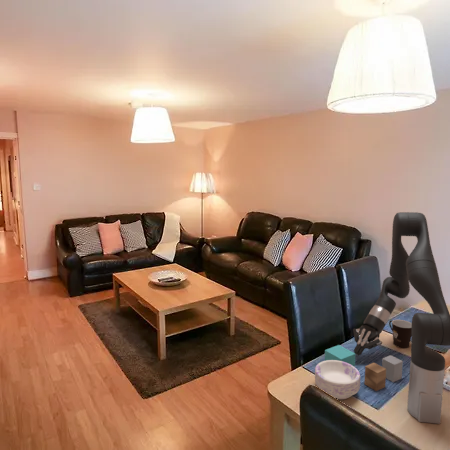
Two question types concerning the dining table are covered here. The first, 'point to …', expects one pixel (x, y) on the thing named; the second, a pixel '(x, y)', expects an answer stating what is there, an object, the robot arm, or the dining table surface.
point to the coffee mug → (401, 333)
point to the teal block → (340, 355)
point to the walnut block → (375, 376)
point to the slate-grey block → (392, 368)
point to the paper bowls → (337, 378)
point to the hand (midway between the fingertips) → (356, 354)
